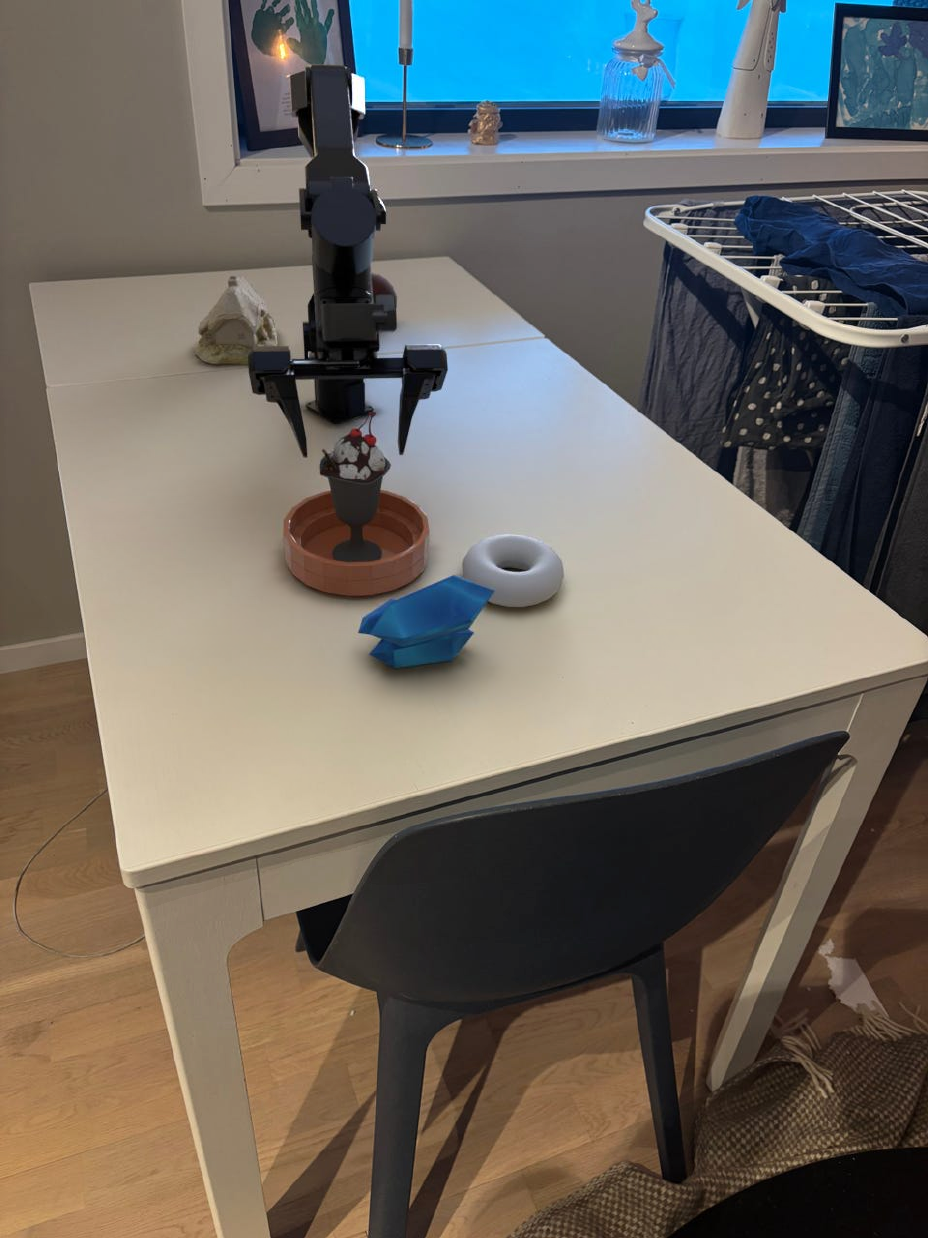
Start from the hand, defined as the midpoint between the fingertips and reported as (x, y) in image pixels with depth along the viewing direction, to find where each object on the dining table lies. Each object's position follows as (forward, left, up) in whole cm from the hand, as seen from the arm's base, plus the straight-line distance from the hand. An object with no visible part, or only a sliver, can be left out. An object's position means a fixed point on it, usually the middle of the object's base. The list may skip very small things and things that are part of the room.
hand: (353, 455), depth 90 cm
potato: (-47, +40, -11) cm, 63 cm away
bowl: (+2, -1, -10) cm, 11 cm away
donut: (+15, +8, -11) cm, 20 cm away
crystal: (+18, -6, -11) cm, 22 cm away
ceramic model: (-51, +19, -11) cm, 55 cm away
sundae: (+2, -1, -10) cm, 10 cm away
